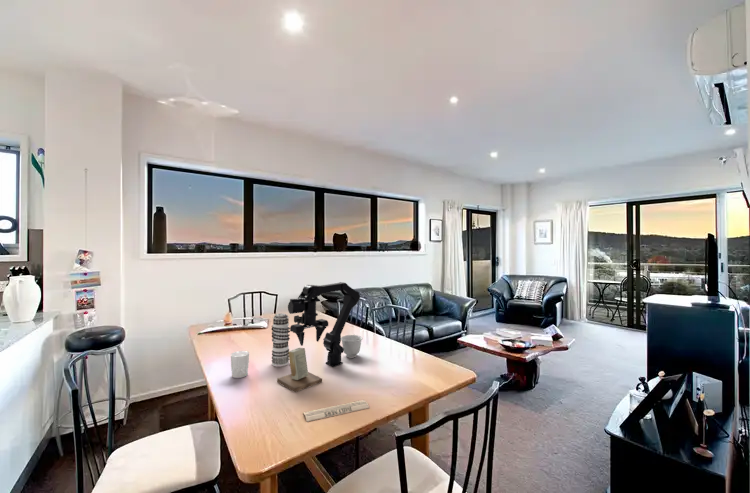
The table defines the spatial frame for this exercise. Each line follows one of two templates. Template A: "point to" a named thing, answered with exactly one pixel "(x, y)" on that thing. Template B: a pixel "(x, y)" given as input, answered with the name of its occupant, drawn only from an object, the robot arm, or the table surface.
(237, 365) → the white cup
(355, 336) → the teacup
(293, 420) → the table surface
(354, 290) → the robot arm
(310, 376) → the walnut block
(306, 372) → the skincare box
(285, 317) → the decorative candle
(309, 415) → the newspaper
